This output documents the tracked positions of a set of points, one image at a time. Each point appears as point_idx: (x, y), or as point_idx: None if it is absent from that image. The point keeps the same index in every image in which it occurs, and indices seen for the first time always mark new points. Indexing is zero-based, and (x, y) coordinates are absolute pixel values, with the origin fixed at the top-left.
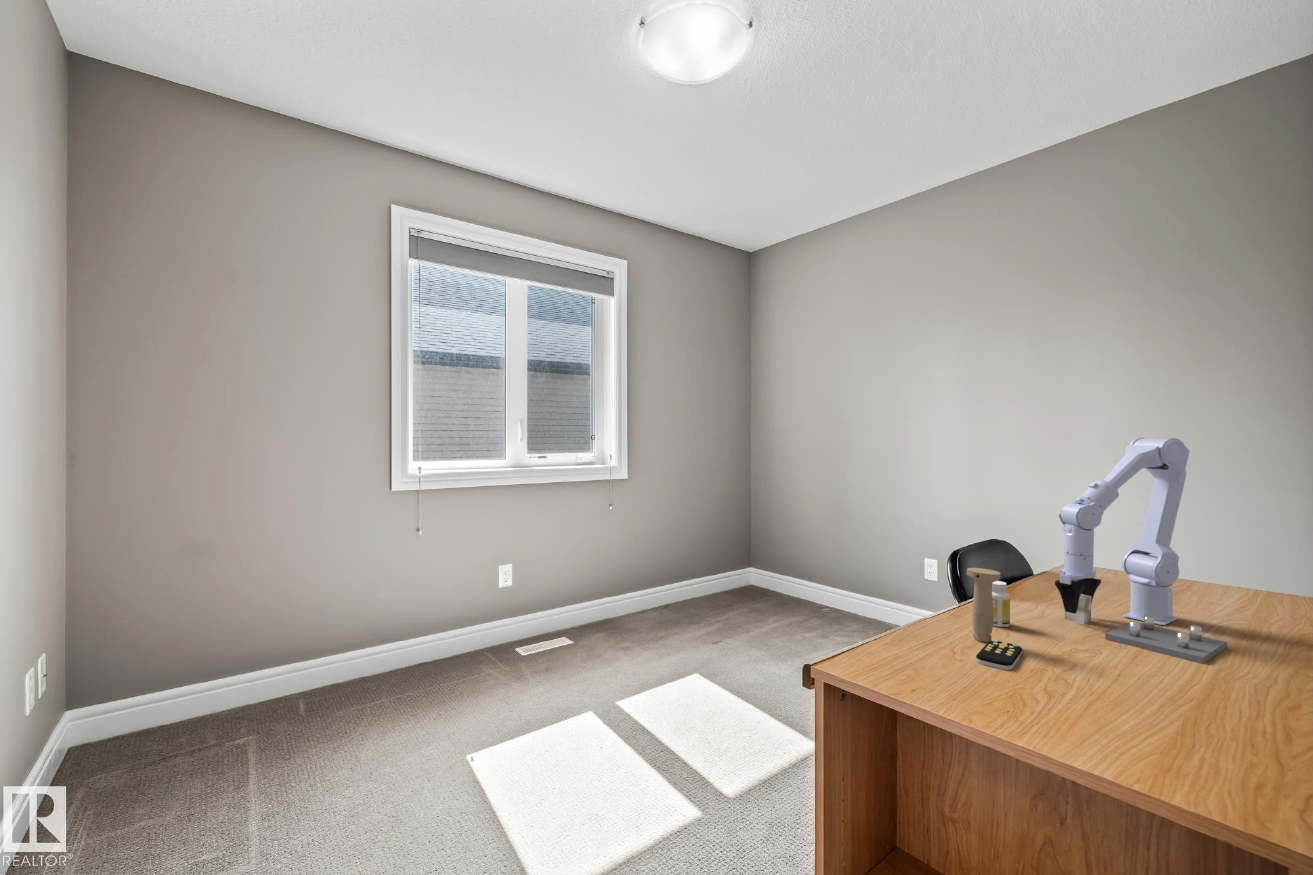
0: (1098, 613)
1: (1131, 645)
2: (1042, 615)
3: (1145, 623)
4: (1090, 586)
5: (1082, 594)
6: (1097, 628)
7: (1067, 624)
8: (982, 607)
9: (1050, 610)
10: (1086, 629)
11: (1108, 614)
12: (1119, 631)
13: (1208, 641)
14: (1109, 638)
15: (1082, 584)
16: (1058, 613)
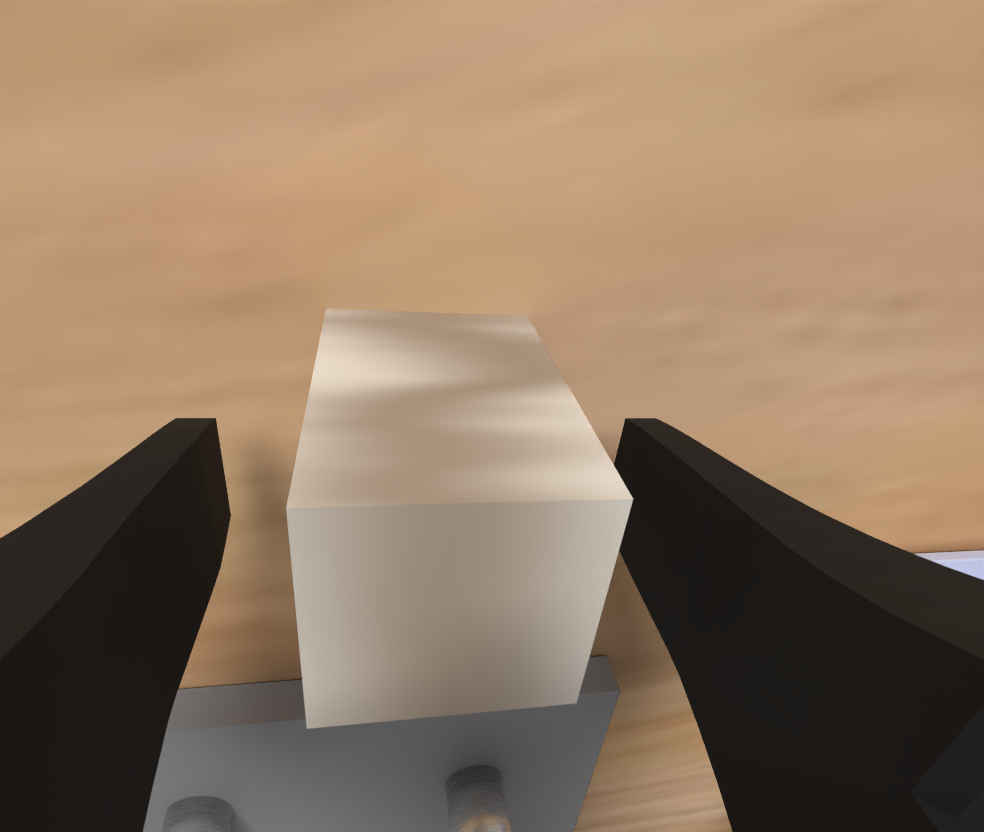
0: (843, 420)
1: None
2: (219, 39)
3: (452, 824)
4: (753, 793)
5: (590, 623)
6: (291, 578)
7: (127, 403)
8: None
9: (621, 25)
10: None
11: (857, 473)
12: (193, 756)
13: None
14: None
15: (808, 721)
16: (541, 165)
